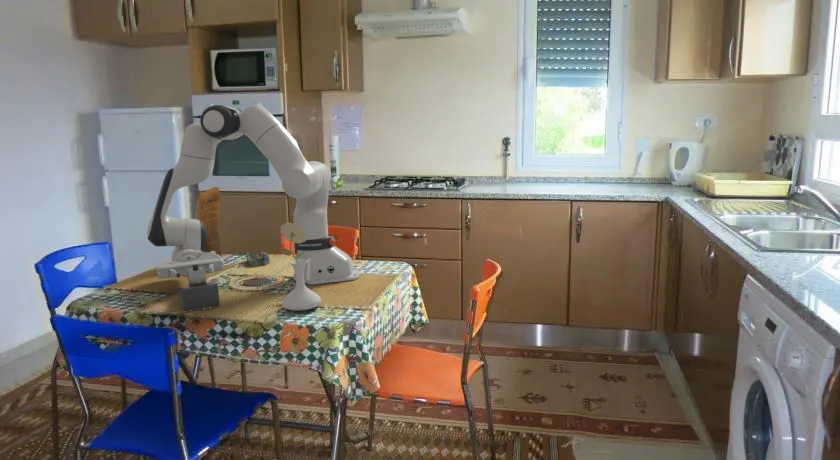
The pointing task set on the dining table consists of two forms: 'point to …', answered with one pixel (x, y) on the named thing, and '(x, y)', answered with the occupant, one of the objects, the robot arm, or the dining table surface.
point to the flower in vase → (298, 273)
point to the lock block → (196, 276)
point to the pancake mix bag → (210, 217)
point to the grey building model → (258, 259)
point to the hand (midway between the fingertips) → (193, 272)
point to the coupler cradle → (199, 297)
